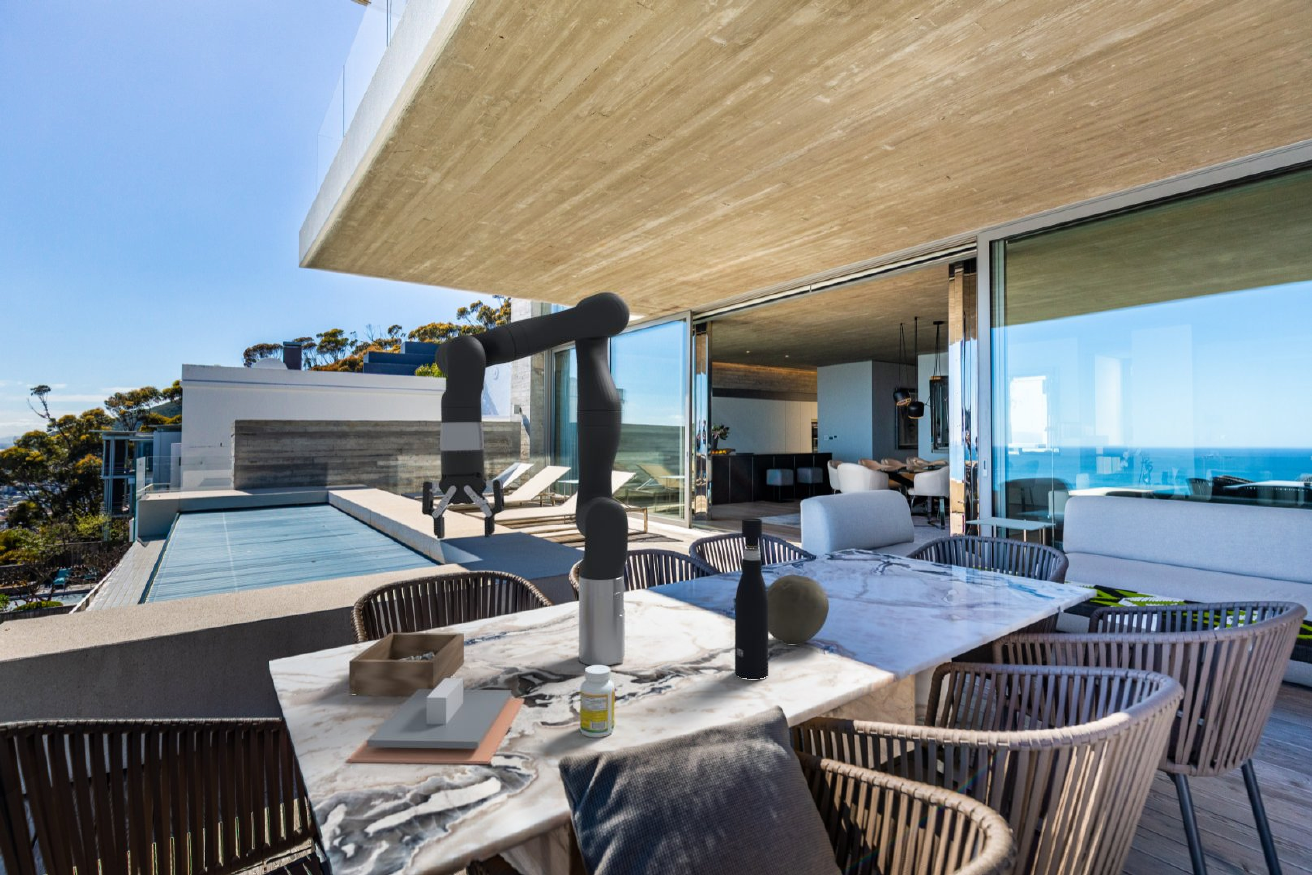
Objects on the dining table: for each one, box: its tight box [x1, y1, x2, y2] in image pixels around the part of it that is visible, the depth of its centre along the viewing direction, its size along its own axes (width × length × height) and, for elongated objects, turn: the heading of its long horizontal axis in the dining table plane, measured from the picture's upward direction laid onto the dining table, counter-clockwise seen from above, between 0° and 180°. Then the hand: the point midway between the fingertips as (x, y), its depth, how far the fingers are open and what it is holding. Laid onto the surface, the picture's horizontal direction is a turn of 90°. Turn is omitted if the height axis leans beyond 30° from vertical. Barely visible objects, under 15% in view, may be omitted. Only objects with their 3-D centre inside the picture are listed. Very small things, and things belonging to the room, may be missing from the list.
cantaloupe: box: [767, 574, 830, 645], centre depth 146 cm, size 14×14×15 cm
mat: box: [347, 697, 525, 765], centre depth 103 cm, size 20×22×1 cm
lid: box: [366, 677, 512, 749], centre depth 103 cm, size 16×19×6 cm
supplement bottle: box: [579, 665, 616, 738], centre depth 102 cm, size 5×5×10 cm
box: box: [348, 632, 465, 697], centre depth 124 cm, size 15×17×6 cm
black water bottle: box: [734, 517, 769, 679], centre depth 127 cm, size 6×6×30 cm
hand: (464, 537), depth 118 cm, fingers open, 8 cm apart
